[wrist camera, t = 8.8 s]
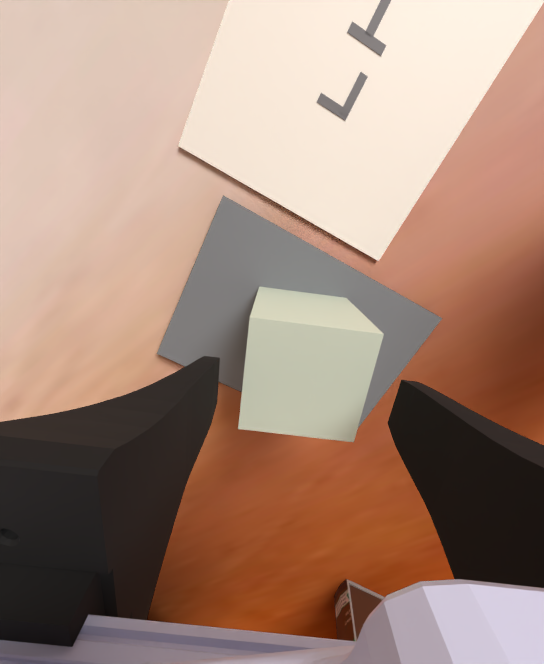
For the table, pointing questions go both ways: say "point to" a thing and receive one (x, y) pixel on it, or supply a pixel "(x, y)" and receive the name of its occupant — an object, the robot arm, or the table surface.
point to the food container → (353, 609)
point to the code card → (347, 101)
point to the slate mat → (287, 274)
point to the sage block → (307, 365)
